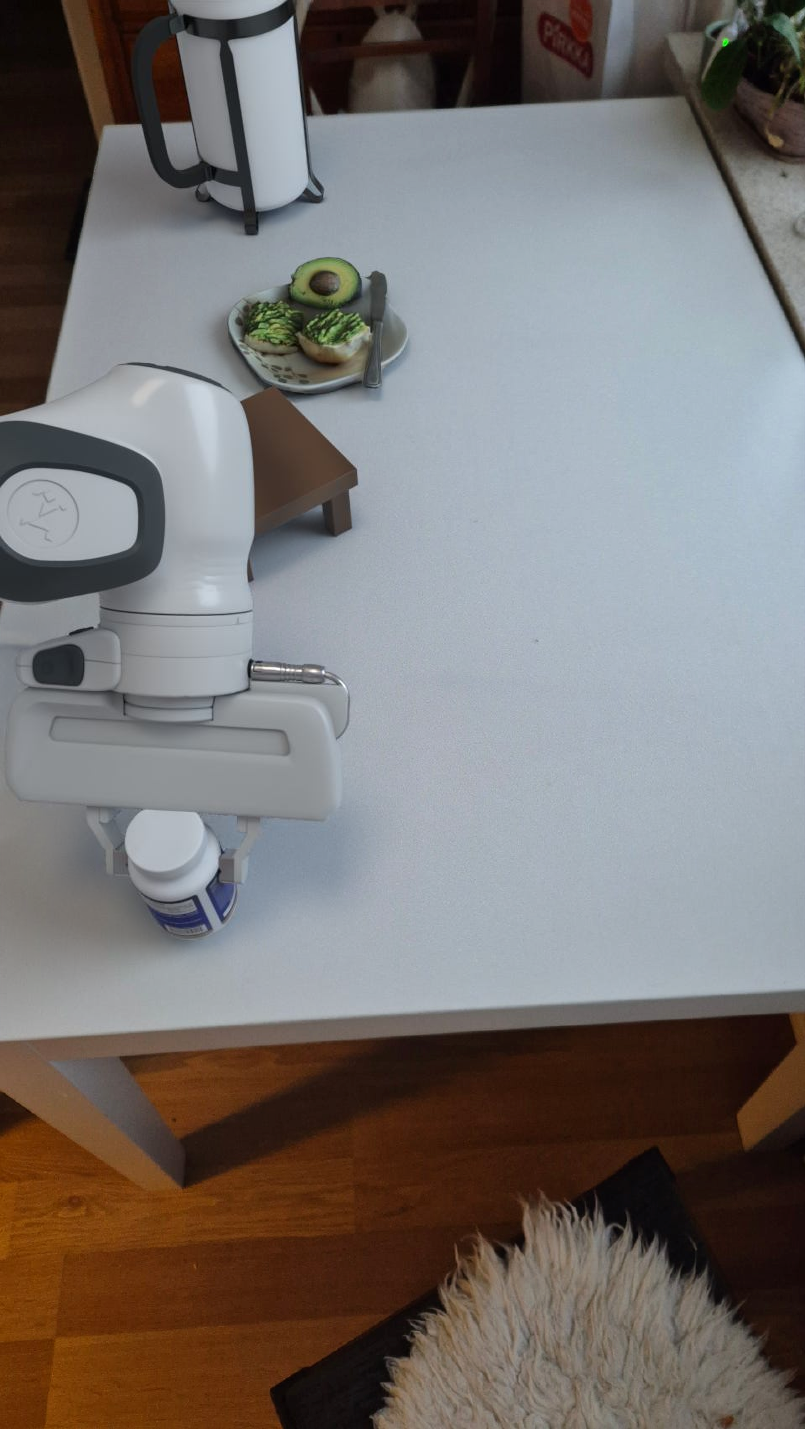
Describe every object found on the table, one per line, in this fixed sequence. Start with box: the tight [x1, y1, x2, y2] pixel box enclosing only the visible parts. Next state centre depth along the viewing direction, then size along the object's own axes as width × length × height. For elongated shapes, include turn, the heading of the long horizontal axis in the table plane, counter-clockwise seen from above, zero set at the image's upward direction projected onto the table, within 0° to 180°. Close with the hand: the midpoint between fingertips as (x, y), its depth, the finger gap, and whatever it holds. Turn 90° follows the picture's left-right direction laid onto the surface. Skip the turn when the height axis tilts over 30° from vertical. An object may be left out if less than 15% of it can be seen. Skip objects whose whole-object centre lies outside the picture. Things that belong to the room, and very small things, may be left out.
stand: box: [239, 385, 359, 584], centre depth 86 cm, size 13×13×7 cm
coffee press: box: [130, 0, 325, 234], centre depth 104 cm, size 17×16×30 cm
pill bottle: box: [124, 809, 239, 941], centre depth 63 cm, size 6×6×10 cm
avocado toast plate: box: [226, 256, 409, 395], centre depth 100 cm, size 19×18×5 cm
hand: (176, 876), depth 63 cm, fingers closed on pill bottle, 6 cm apart
